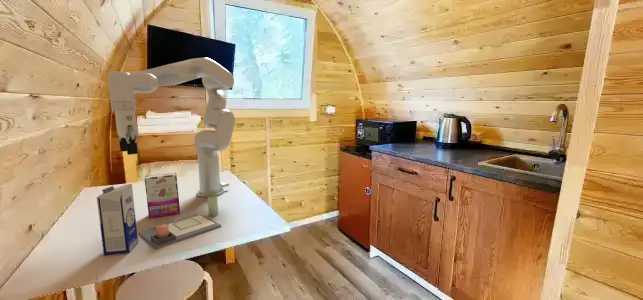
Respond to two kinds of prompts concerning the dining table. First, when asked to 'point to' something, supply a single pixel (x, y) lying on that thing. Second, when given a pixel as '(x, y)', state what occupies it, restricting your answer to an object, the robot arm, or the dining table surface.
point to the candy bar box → (162, 195)
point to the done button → (162, 230)
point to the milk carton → (117, 220)
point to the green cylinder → (212, 202)
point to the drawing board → (180, 230)
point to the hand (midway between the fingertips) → (129, 152)
